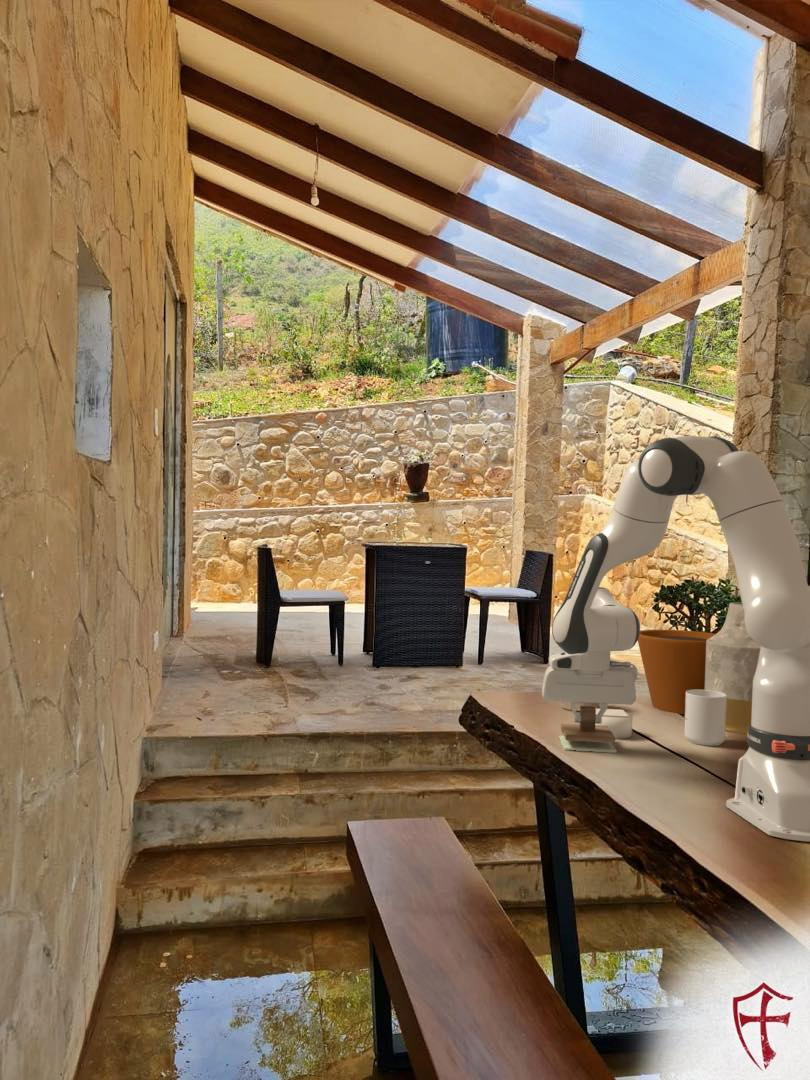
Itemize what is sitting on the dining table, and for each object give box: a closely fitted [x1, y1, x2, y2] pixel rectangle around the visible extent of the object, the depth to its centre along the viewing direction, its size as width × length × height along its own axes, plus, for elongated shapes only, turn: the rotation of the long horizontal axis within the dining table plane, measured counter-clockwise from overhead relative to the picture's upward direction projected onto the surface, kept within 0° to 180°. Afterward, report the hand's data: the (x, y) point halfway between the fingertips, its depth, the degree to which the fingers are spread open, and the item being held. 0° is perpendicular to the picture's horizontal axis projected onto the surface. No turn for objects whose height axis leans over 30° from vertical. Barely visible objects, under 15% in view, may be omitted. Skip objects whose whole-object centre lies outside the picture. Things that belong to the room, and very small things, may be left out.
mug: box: [683, 690, 727, 747], centre depth 196 cm, size 12×9×11 cm
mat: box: [558, 735, 617, 754], centre depth 188 cm, size 11×11×1 cm
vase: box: [705, 601, 761, 735], centre depth 212 cm, size 18×18×30 cm
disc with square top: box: [595, 708, 633, 740], centre depth 200 cm, size 10×10×5 cm
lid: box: [560, 706, 616, 744], centre depth 188 cm, size 10×10×6 cm
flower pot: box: [637, 629, 717, 715], centre depth 231 cm, size 24×24×20 cm
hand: (587, 722), depth 188 cm, fingers closed on lid, 3 cm apart
